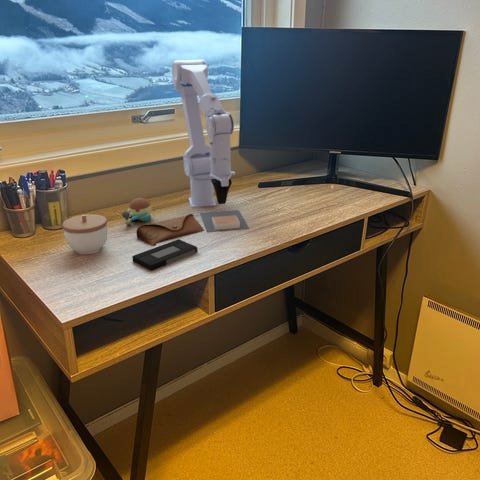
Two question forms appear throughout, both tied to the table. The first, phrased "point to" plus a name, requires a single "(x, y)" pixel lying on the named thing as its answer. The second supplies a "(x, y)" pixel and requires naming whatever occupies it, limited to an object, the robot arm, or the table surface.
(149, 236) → the sunglasses case
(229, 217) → the tile
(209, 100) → the robot arm
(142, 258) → the vhs tape
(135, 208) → the figurine
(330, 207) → the table surface
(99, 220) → the lidded jar
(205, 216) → the mat
